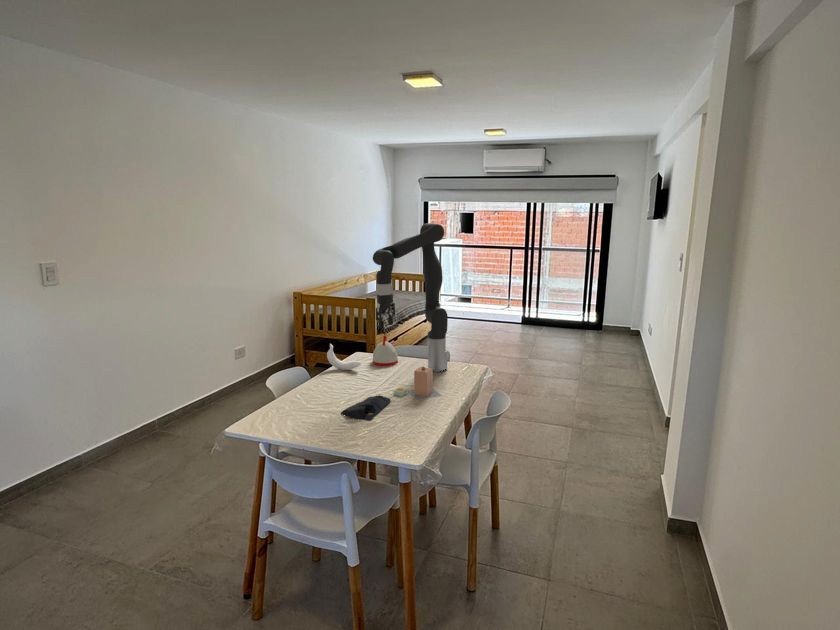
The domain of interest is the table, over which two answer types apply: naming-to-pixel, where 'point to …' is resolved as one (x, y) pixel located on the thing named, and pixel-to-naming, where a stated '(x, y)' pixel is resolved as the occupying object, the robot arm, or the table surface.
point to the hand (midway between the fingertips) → (386, 326)
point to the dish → (400, 392)
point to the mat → (418, 397)
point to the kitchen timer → (385, 354)
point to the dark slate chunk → (367, 408)
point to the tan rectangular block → (423, 381)
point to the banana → (341, 364)
